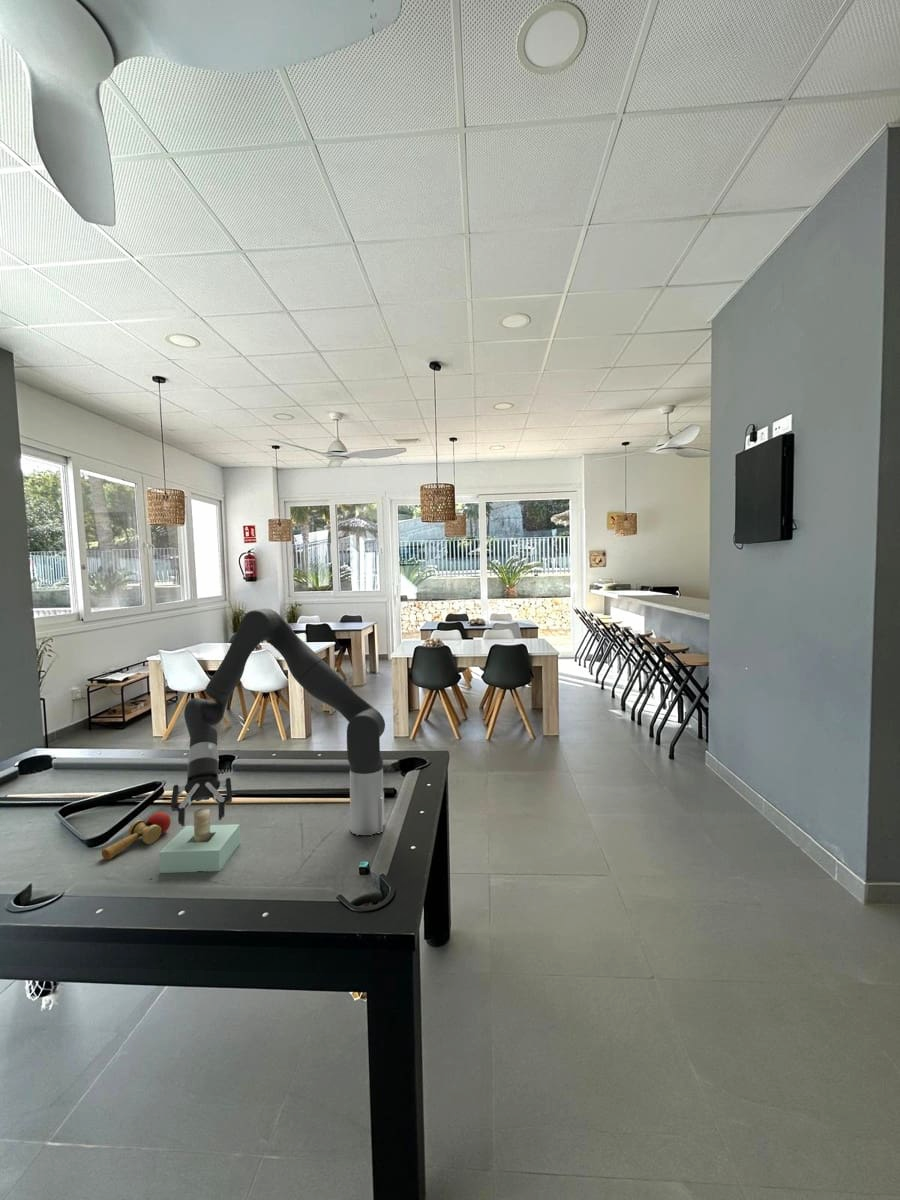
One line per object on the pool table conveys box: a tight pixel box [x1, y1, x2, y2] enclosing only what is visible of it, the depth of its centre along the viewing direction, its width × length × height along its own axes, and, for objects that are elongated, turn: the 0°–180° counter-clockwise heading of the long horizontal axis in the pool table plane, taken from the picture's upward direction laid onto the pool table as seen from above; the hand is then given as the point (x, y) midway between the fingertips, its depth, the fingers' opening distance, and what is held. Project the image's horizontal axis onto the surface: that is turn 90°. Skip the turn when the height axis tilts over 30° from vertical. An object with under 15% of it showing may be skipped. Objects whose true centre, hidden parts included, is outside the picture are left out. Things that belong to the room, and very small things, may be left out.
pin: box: [193, 807, 211, 843], centre depth 131 cm, size 4×4×10 cm
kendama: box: [101, 811, 172, 861], centre depth 138 cm, size 8×6×18 cm
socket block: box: [158, 824, 241, 874], centre depth 131 cm, size 14×14×5 cm
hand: (201, 822), depth 131 cm, fingers open, 8 cm apart
